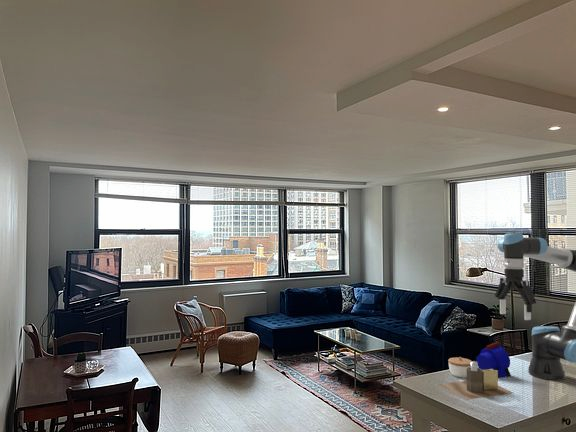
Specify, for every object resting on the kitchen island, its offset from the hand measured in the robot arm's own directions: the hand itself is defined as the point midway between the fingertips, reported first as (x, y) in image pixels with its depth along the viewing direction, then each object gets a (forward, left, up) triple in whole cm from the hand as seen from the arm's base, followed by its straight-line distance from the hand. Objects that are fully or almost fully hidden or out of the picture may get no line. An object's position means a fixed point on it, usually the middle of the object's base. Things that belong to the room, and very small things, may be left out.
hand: (514, 316), depth 186 cm
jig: (+18, -4, -32) cm, 37 cm away
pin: (+20, -2, -30) cm, 37 cm away
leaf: (+13, -1, -30) cm, 33 cm away
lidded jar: (+12, -21, -32) cm, 40 cm away
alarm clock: (-6, -21, -32) cm, 39 cm away
